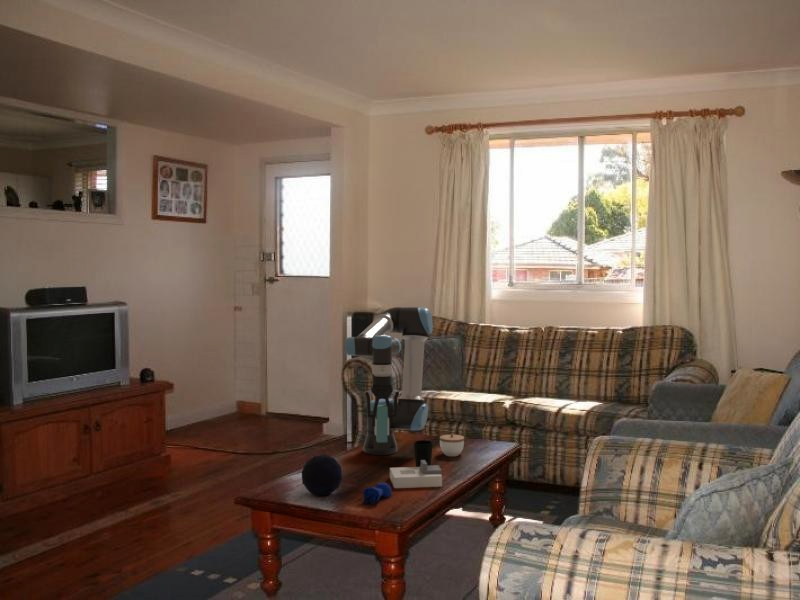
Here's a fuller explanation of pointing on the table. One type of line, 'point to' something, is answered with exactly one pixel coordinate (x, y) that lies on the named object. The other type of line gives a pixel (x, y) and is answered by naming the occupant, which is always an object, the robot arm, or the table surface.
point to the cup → (423, 452)
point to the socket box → (413, 478)
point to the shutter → (429, 468)
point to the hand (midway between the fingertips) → (381, 434)
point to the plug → (381, 423)
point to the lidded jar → (451, 444)
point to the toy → (376, 493)
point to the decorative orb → (321, 475)
